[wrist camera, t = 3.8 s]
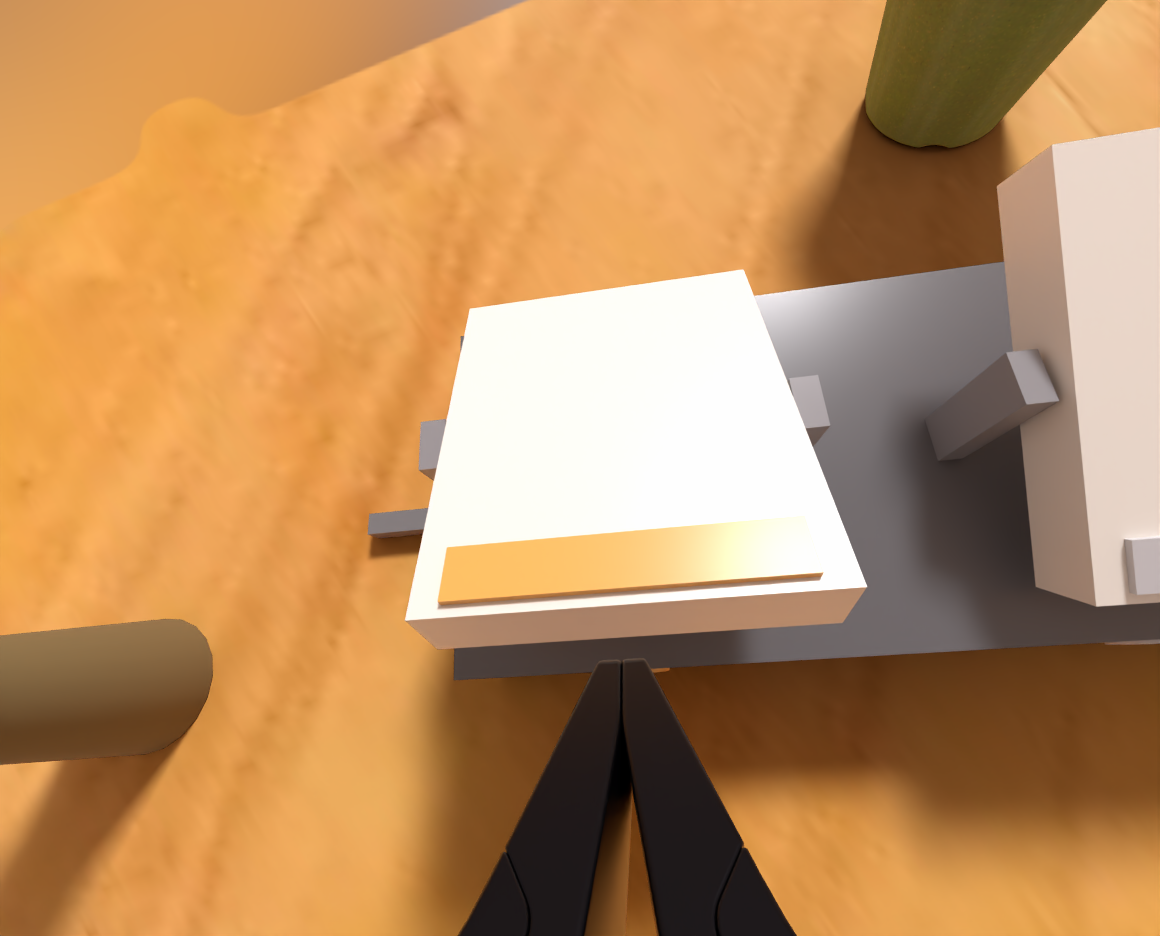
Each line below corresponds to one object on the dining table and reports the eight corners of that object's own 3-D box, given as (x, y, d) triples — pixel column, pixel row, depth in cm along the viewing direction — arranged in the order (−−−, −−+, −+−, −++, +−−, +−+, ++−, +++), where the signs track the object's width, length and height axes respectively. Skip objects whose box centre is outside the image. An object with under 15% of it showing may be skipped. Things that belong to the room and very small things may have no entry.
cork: (204, 746, 23) (-161, 832, 13) (86, 761, 24) (-357, 856, 13) (219, 610, 25) (-85, 589, 15) (110, 627, 26) (-257, 618, 15)
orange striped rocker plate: (842, 622, 12) (869, 582, 10) (437, 649, 13) (400, 617, 11) (738, 317, 19) (744, 264, 18) (485, 351, 20) (468, 304, 19)
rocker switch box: (1276, 631, 19) (1833, 622, 10) (367, 684, 23) (184, 712, 14) (1118, 311, 24) (1400, 111, 15) (388, 402, 28) (260, 289, 19)
